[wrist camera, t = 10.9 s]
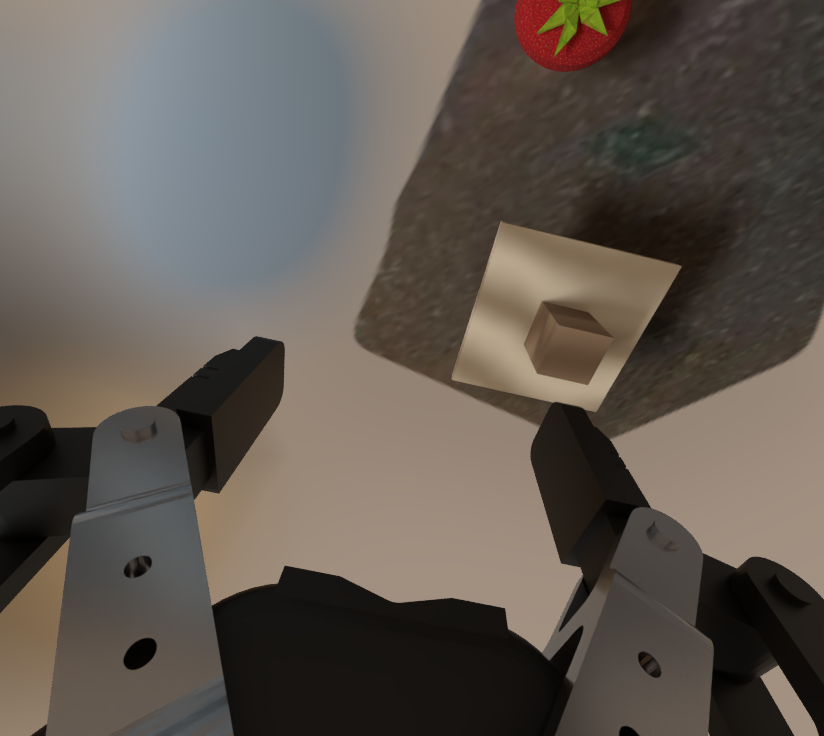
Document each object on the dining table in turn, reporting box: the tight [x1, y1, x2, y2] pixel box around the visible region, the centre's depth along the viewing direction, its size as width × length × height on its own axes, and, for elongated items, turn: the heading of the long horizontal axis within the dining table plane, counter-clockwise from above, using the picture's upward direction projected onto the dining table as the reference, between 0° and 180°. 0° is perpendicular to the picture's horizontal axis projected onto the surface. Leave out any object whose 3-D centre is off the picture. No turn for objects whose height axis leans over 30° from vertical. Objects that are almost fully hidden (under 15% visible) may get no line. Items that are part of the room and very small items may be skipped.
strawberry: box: [515, 0, 632, 72], centre depth 25 cm, size 6×8×10 cm
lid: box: [452, 221, 682, 412], centre depth 29 cm, size 14×14×6 cm
